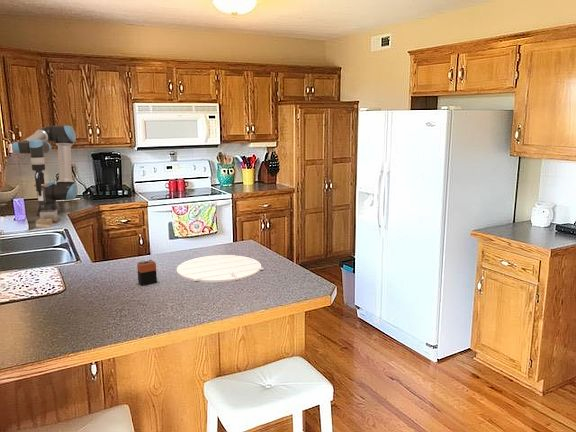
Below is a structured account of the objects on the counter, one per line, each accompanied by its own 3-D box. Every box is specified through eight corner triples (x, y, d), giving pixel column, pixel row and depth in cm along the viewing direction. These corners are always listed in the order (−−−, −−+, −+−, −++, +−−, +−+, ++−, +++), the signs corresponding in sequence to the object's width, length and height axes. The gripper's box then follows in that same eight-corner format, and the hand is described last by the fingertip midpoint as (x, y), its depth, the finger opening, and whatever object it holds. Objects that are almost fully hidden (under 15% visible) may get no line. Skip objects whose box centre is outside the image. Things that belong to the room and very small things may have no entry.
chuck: (42, 220, 329) (41, 209, 327) (60, 219, 332) (59, 209, 330) (37, 224, 317) (36, 213, 316) (57, 223, 320) (56, 212, 319)
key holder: (39, 225, 314) (38, 219, 313) (52, 224, 316) (51, 218, 315) (36, 227, 306) (35, 221, 306) (49, 227, 308) (49, 221, 307)
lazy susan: (276, 274, 215) (276, 267, 214) (193, 289, 196) (193, 281, 195) (240, 253, 249) (240, 247, 248) (166, 264, 230) (166, 257, 229)
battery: (138, 283, 202) (136, 260, 200) (153, 280, 206) (152, 257, 204) (141, 286, 199) (140, 263, 197) (157, 282, 202) (156, 260, 200)
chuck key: (37, 208, 310) (34, 183, 307) (50, 207, 312) (47, 183, 309) (35, 209, 306) (32, 184, 303) (48, 209, 308) (45, 184, 305)
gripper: (35, 162, 310) (39, 198, 315) (27, 165, 294) (32, 202, 299) (47, 162, 312) (51, 197, 317) (41, 165, 296) (45, 202, 301)
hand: (42, 200), depth 308 cm, fingers closed on chuck key, 4 cm apart
